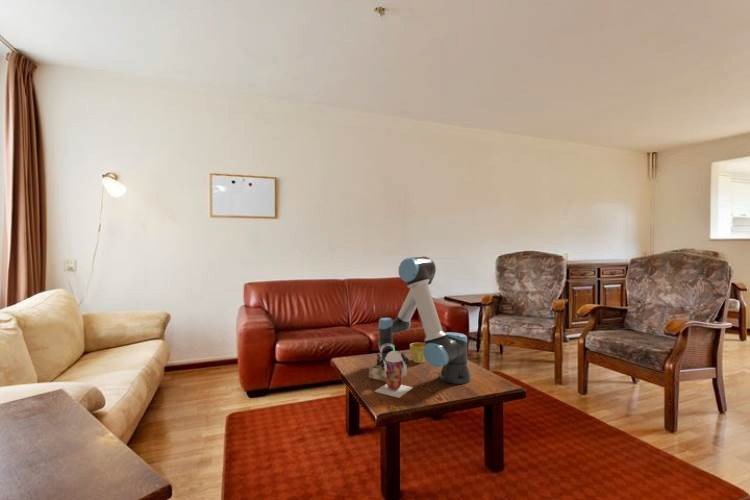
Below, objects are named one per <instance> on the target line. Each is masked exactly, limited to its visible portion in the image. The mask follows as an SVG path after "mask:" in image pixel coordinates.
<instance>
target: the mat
mask: <svg viewBox="0 0 750 500" xmlns="http://www.w3.org/2000/svg"><path fill="white" fill-rule="evenodd" d="M413 388H414V387H413V386H410V385H409V386H408V385H404V384H401V386H400V388H399V389H390V388H388V386H387V383H386V384H384V385H382V386H380V387H378V388H377V389H375V390H374V392H375V393H378V394H382V395H387V396H391V397H395V398H398V399H399V398H401V397H403V396H404V395H405V394H407V393H408V392H409V391H411V390H412V389H413Z"/></svg>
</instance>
